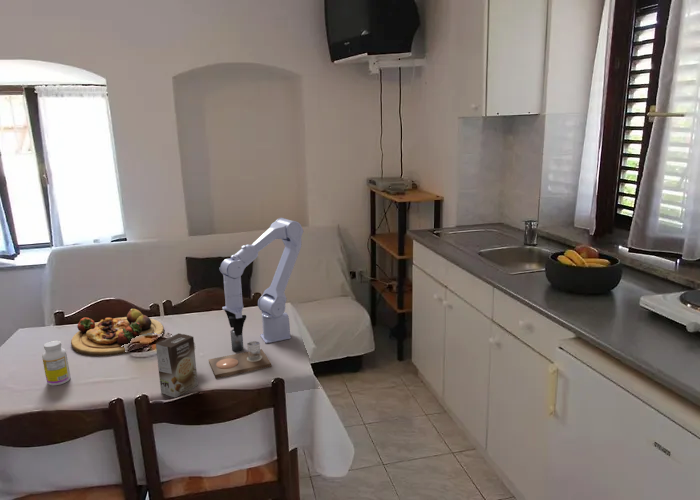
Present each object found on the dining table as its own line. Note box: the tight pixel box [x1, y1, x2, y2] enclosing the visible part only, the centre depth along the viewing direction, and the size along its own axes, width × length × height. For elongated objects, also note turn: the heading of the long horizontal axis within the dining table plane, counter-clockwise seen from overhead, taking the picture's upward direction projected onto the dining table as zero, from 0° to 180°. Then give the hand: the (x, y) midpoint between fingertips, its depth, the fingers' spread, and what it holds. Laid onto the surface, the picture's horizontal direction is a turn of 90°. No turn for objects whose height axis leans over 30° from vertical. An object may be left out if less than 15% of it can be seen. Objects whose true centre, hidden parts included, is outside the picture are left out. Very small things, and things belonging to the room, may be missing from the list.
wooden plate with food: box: [70, 308, 165, 357], centre depth 203 cm, size 32×32×8 cm
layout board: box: [208, 340, 272, 379], centre depth 179 cm, size 18×12×6 cm, turn 114°
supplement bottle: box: [41, 340, 71, 387], centre depth 170 cm, size 7×7×13 cm
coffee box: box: [155, 333, 199, 398], centre depth 163 cm, size 9×6×16 cm
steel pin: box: [230, 328, 244, 353], centre depth 191 cm, size 4×4×7 cm
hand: (236, 330), depth 190 cm, fingers open, 7 cm apart
